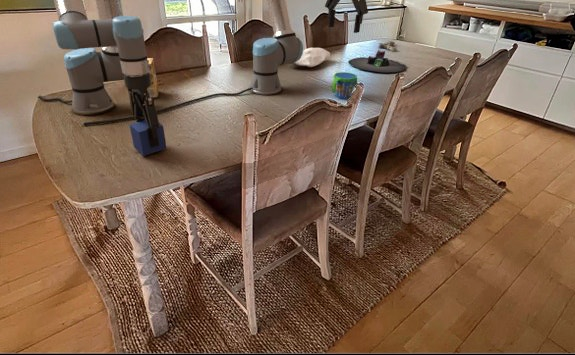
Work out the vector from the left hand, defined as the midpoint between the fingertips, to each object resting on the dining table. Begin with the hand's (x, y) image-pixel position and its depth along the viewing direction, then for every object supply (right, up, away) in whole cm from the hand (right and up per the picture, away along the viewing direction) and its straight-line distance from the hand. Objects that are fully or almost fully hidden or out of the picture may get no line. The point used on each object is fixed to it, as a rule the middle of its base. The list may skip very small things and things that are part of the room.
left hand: (149, 141), depth 121 cm
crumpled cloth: (+57, +56, +98) cm, 127 cm away
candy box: (-16, +26, +46) cm, 55 cm away
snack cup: (+73, +27, +53) cm, 94 cm away
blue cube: (0, -2, +1) cm, 2 cm away
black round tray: (+101, +57, +102) cm, 154 cm away
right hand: (+69, +49, +28) cm, 89 cm away
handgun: (+121, +82, +143) cm, 204 cm away
